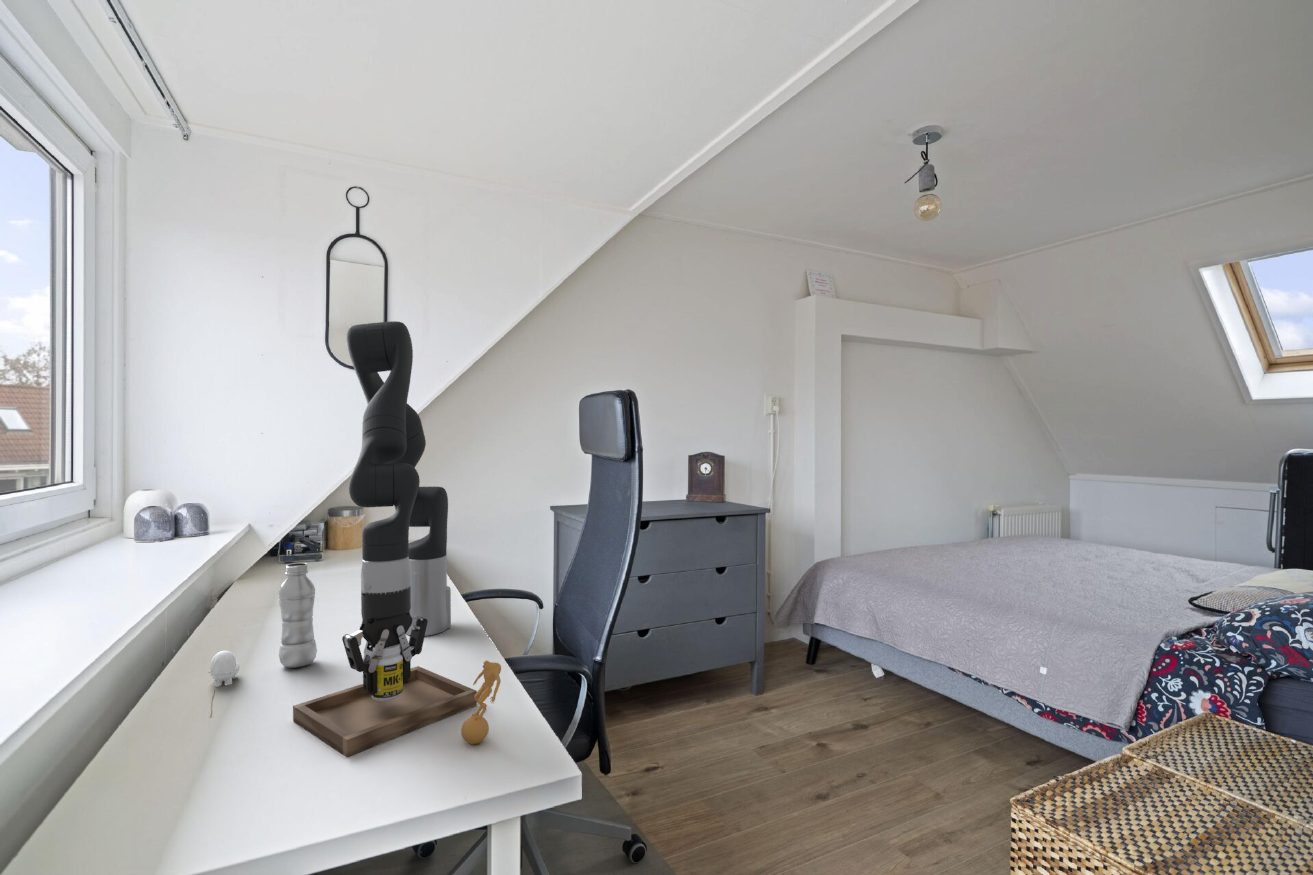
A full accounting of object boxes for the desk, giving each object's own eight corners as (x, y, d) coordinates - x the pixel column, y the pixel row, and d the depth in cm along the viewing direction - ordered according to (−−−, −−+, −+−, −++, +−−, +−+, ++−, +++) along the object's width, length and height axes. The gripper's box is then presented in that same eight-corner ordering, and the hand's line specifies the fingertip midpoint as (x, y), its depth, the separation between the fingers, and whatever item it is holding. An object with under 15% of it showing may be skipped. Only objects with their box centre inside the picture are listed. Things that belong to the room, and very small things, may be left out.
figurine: (453, 735, 100) (453, 657, 99) (491, 725, 103) (491, 649, 103) (470, 758, 93) (470, 674, 92) (511, 746, 96) (510, 665, 96)
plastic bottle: (301, 672, 125) (299, 568, 124) (270, 670, 126) (269, 567, 126) (324, 660, 131) (323, 561, 131) (295, 658, 132) (294, 560, 132)
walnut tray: (418, 679, 121) (418, 665, 121) (476, 705, 110) (476, 690, 110) (293, 721, 104) (292, 705, 104) (347, 757, 93) (346, 739, 93)
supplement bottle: (383, 704, 104) (383, 652, 104) (365, 697, 107) (365, 646, 106) (409, 693, 108) (408, 643, 108) (391, 687, 111) (390, 638, 110)
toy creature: (205, 692, 116) (205, 657, 116) (214, 676, 123) (214, 643, 123) (235, 687, 118) (235, 653, 118) (243, 672, 125) (242, 640, 125)
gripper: (413, 573, 115) (414, 669, 115) (331, 590, 104) (332, 696, 104) (437, 580, 110) (438, 680, 111) (354, 598, 99) (355, 709, 99)
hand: (387, 687), depth 107 cm, fingers closed on supplement bottle, 4 cm apart
